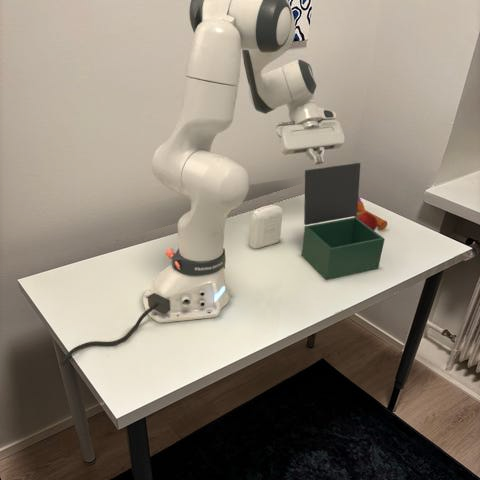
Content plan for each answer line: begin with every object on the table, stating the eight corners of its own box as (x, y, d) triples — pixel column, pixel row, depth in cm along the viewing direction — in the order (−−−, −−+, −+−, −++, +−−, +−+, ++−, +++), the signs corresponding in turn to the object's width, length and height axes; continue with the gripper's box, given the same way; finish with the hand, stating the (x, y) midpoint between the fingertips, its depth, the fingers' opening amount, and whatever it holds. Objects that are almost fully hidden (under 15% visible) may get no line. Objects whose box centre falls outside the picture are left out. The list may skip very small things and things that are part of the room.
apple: (374, 242, 160) (379, 219, 155) (349, 239, 161) (353, 216, 156) (374, 231, 166) (378, 208, 161) (349, 228, 167) (353, 206, 162)
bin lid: (360, 163, 144) (358, 162, 144) (306, 170, 138) (304, 170, 139) (357, 215, 151) (355, 215, 151) (305, 225, 145) (303, 224, 146)
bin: (378, 268, 147) (384, 238, 141) (326, 280, 141) (330, 249, 135) (350, 245, 157) (355, 217, 151) (301, 255, 152) (304, 226, 146)
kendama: (376, 221, 162) (340, 193, 175) (375, 236, 167) (339, 208, 180) (391, 214, 164) (354, 188, 177) (389, 229, 168) (353, 202, 181)
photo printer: (273, 236, 161) (276, 200, 153) (281, 242, 158) (285, 205, 151) (247, 244, 156) (248, 207, 149) (255, 250, 153) (256, 213, 146)
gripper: (278, 117, 142) (291, 163, 141) (340, 111, 149) (353, 155, 148) (270, 129, 148) (283, 172, 147) (330, 122, 155) (342, 164, 154)
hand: (318, 163), depth 148 cm, fingers closed
